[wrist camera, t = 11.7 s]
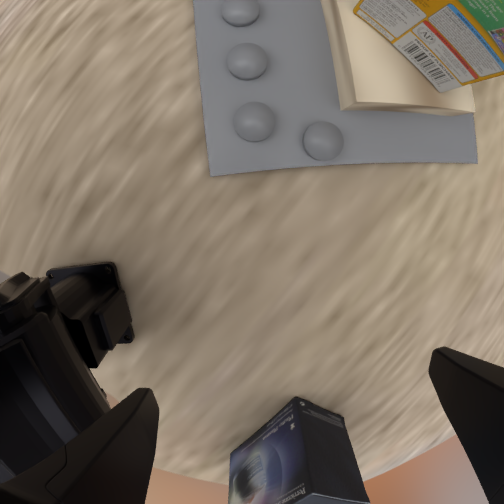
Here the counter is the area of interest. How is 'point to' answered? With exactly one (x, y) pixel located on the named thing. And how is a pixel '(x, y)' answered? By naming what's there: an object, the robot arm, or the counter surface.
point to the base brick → (382, 70)
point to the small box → (297, 461)
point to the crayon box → (443, 36)
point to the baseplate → (299, 97)
